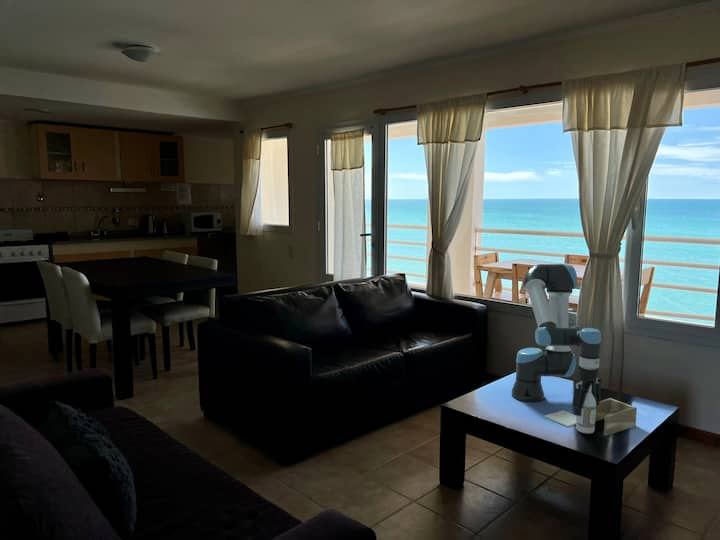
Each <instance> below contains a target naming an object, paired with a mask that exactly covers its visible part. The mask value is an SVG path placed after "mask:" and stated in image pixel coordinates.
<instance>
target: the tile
mask: <svg viewBox="0 0 720 540" xmlns="http://www.w3.org/2000/svg"><path fill="white" fill-rule="evenodd" d="M544 417H545V418H547V420H550V421H553V422H555V423H557V424H559V425H562V426H563V427H566V428H570V427H573V426H576V414H573V413H570V412H569V411H566V410H564V409H563V410H559V411H556V412H553V413H549V414H546V415H544Z"/></svg>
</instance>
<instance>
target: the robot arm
mask: <svg viewBox="0 0 720 540" xmlns="http://www.w3.org/2000/svg"><path fill="white" fill-rule="evenodd" d="M577 286H578V274H577V272H576V270H575V267H574V266H573V265H571V264H566V263H559V264H558V263H556V264H551V263H548V264H547V263H545V264H544V263H541V264H540V263H538V264H535V265H533V266H532V267H530V268H529V269H528V270H527V272H526V273H525V275H524V277H523V288H524V291H525V293H526V294H528V297H529V301H530V305H531V307H532V311H533V313H534V317H535V321H536V324H537V328H536V329H535V331H534V332H535V333H534V338H535V343H536V344H537V345H538V346H546V347H545V351H543V350H542V349H541V348H538V347H525V348H523V349H520V350H518V352H517V353H516V354H517V355H516V359H515V361H516V363H515V364H516V367H515V368H516V369H515V381H514V384H513V387H512V389H511V397H513V398H514V399H515V400H516V399H517V400H518V401H522V402H527V403H528V402H529V403H535V402H536V403H537V402H542V401H544V399H545V391H544V389H543V385H542V377H553V378H554V377H556V378H557V377H559V378H564V377H565V378H566V377H571V376H572V375H573V374H574V373H575V369H576V365H577V359H576V355H575V353H574V352H572V349H571V347H578V348H579V354H578V355H579V357H578V376H579V377H580V378H579V382H575V383H574V392H573V400H572V407H575V408H576V409H575V415H576V422H577V423H580V424H583V416H584V408H583V404H584V401H585V397H586V394H587V393H588V391H589V388H590V386H591V384H592V390H591V393H592V394H593V396H594V398H595V400H596V407H597V405H599V402H600V401H602V397H601V396H602V395H601V394H602V391H601V383H602V379H601V378H599V375H600V369H599V368H600V357H601V356H600V355H601V343H602V332H601V331H600V329H598V328H597V329H596V328H593V327H584V326H579V325H575V326H572V327H569V316H570V315H569V311H570V310H569V309H570V307H569V305H570V304H569V303H570V296H571V295H572V294H573V290H574V289H576V288H577ZM547 294H548V295H547ZM548 296H549V297H548ZM584 389H585V390H584ZM595 418H596V416H595Z"/></svg>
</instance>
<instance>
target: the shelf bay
mask: <svg viewBox="0 0 720 540" xmlns="http://www.w3.org/2000/svg"><path fill="white" fill-rule="evenodd" d="M637 410H638V408H637V407H636V406H634V405H630V404H628V403H625V402H622V401H619V400H616V399H614V398H612V397H609V398H605V399H603V400H602V399H601V401H600V402H599V405H597V407H596V418H595V422H597V421H601V420H604V423H603V425H604V426H603V435H604V436H610V435H613V434H615V433H619V432H622V431H625V430H627V429H630V428H633V427H635V426H636V425H637V413H638V412H637Z"/></svg>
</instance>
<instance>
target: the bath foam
mask: <svg viewBox="0 0 720 540" xmlns="http://www.w3.org/2000/svg"><path fill="white" fill-rule="evenodd" d="M583 390H585V389H583ZM591 390H592V384H591V386H590V388H589V391H588V393H587V394H586V397H585V401H584V404H583V408H584V416H583V424H580V423H577V422H576V425H575V426H576V427H575V429H576V430H577V431H578V432H580V433H581V434H582V433H583V434H586V435H587V434H588V435H589V434H593V433H595V429H596V421H595V416H596V400H595V398H594V396H593V394H592V393H591Z"/></svg>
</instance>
